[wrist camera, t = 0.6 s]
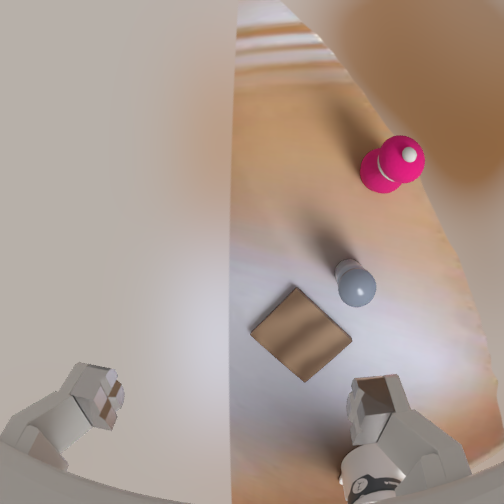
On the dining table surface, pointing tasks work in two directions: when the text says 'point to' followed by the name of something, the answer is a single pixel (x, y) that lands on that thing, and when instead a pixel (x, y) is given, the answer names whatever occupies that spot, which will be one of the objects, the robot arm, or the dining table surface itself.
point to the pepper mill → (392, 164)
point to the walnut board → (301, 335)
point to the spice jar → (354, 283)
